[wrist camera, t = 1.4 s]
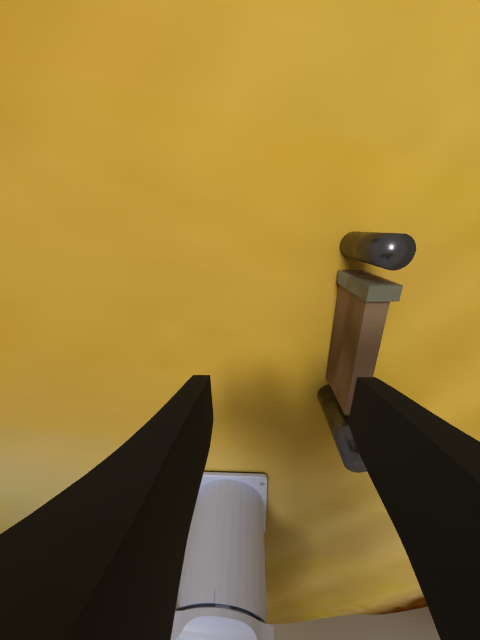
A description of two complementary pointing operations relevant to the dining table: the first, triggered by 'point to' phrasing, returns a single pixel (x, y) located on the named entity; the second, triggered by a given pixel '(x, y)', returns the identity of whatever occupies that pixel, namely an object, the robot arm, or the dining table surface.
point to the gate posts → (386, 254)
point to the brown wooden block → (357, 330)
